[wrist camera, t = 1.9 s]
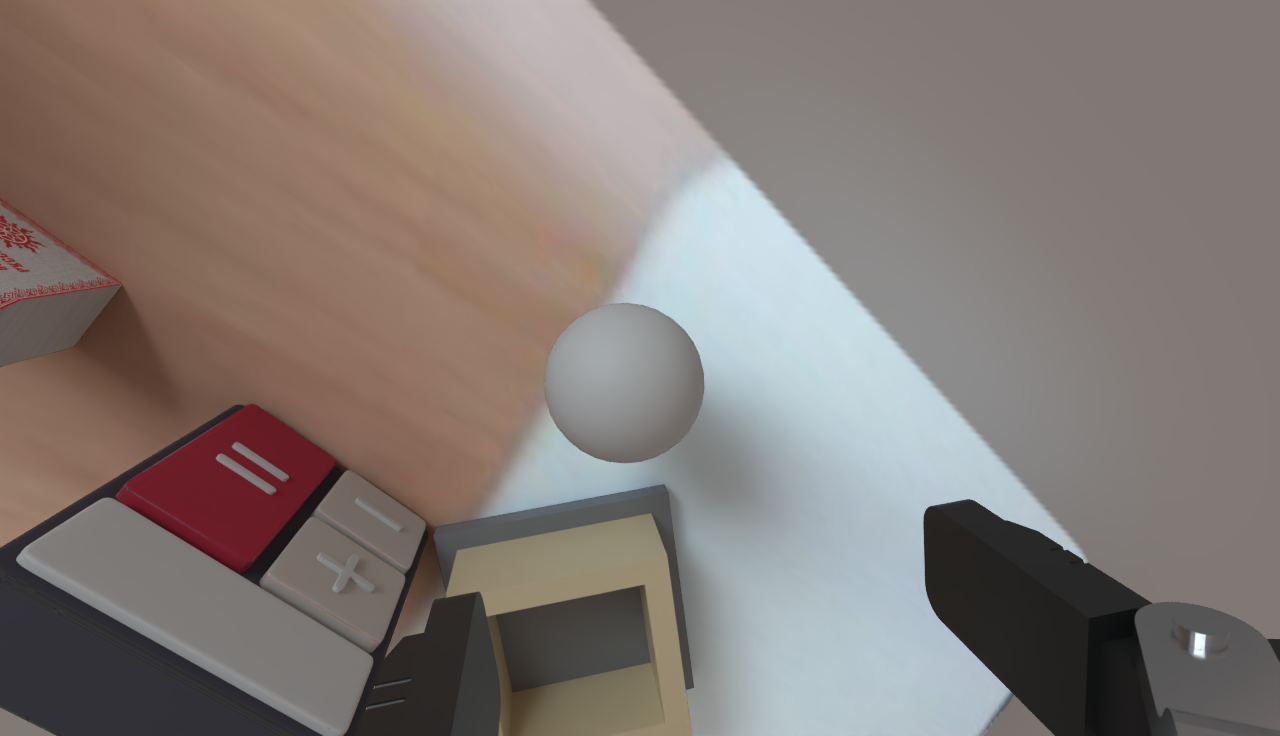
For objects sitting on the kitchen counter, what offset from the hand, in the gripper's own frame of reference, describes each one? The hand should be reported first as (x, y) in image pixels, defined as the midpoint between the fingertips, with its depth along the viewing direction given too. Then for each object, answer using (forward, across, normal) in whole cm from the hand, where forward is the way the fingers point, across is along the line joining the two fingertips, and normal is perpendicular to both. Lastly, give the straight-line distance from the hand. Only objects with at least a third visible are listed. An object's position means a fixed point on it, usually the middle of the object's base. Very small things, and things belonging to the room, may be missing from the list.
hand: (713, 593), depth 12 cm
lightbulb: (+22, 0, 0) cm, 22 cm away
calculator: (+22, +15, +5) cm, 27 cm away
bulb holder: (+22, +4, +14) cm, 26 cm away
